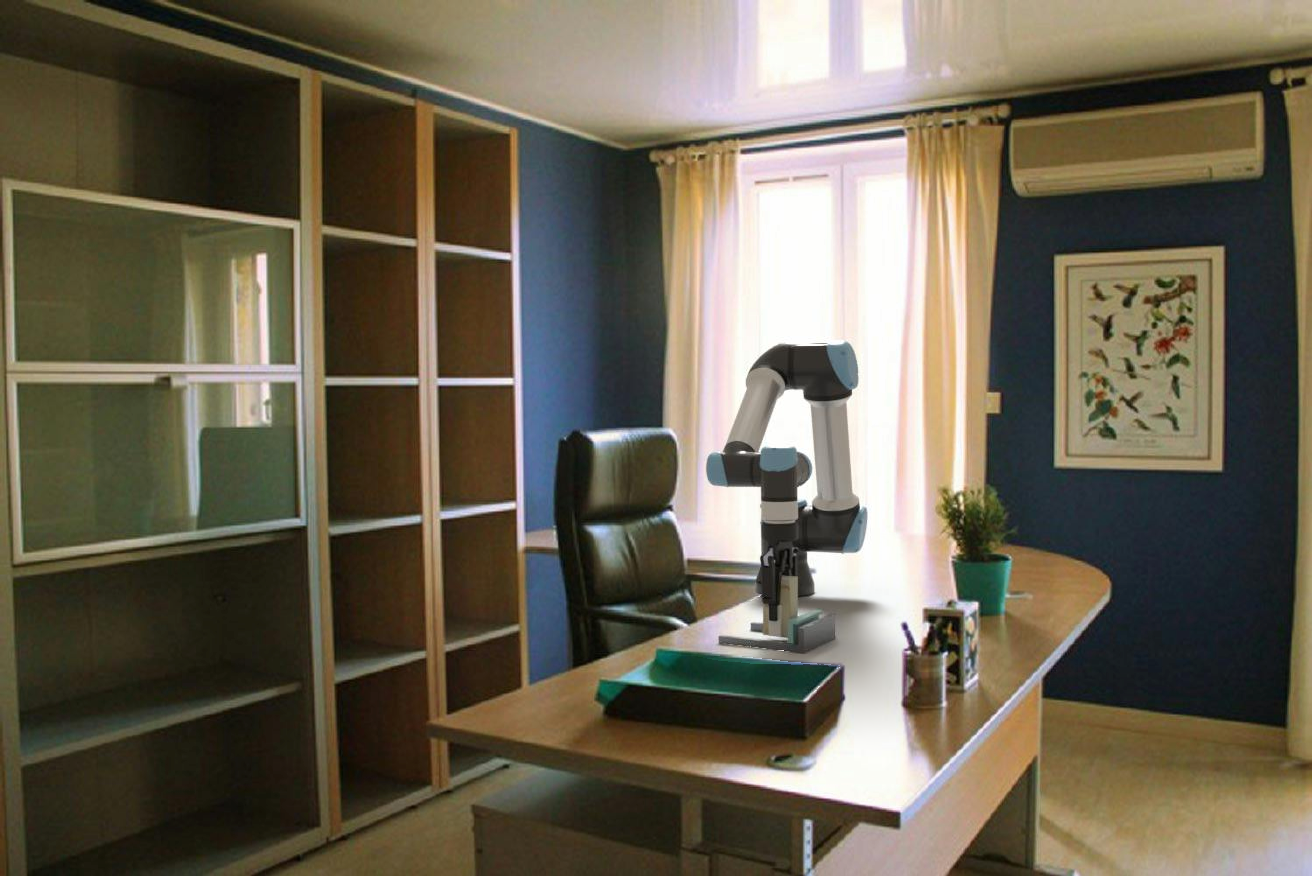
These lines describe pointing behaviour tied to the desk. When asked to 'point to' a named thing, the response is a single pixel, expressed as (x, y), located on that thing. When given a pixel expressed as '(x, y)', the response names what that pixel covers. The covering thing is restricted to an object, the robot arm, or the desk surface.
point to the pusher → (801, 624)
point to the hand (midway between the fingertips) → (780, 633)
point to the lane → (807, 636)
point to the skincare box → (784, 604)
